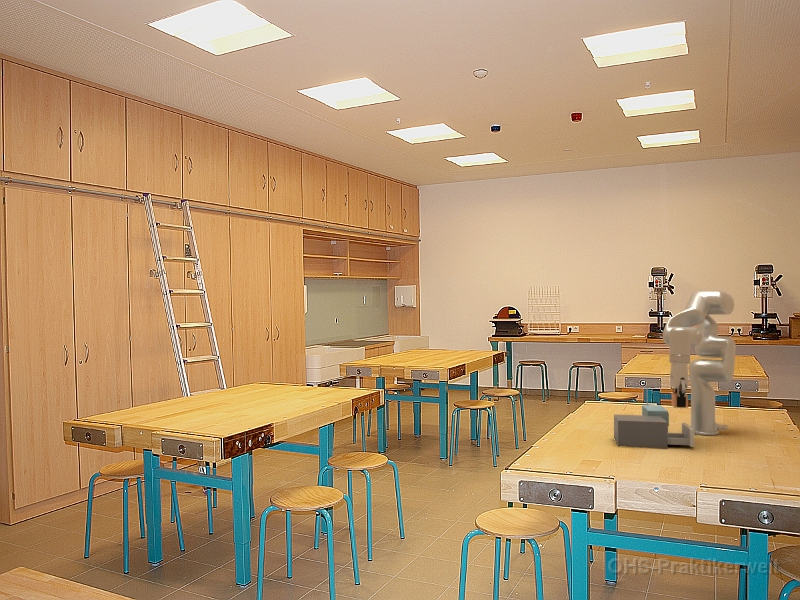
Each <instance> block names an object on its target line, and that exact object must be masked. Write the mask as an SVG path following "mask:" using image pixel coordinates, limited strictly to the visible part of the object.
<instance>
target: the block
mask: <svg viewBox="0 0 800 600" xmlns="http://www.w3.org/2000/svg"><path fill="white" fill-rule="evenodd" d="M677 397H678V393H674V392H671V407H672V408H676V409H688V408H689V395H688V394H686V407H677Z"/></svg>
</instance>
